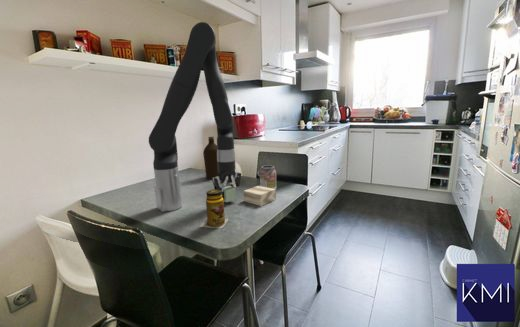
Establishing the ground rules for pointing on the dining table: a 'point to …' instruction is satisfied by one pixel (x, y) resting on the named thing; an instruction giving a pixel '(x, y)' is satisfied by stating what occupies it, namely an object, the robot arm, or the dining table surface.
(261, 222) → the dining table surface
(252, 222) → the dining table surface
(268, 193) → the maple block
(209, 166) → the olive oil
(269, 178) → the patterned jar
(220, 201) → the condiment
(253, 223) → the dining table surface
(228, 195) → the green cube
